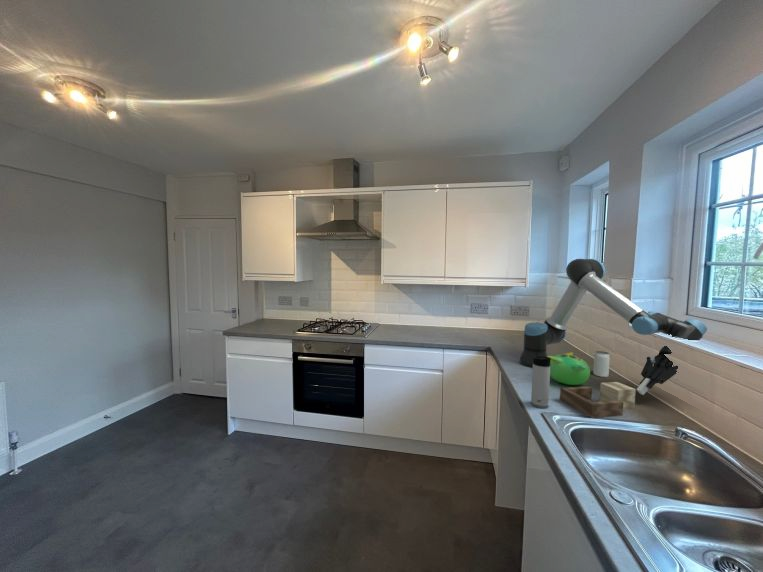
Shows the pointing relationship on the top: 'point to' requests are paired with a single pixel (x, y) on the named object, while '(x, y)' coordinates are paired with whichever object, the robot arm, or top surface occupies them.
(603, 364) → the can
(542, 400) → the travel mug
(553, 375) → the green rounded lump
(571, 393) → the wooden tray
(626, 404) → the block
